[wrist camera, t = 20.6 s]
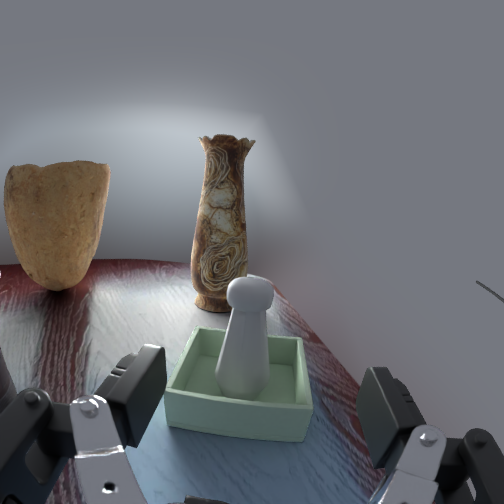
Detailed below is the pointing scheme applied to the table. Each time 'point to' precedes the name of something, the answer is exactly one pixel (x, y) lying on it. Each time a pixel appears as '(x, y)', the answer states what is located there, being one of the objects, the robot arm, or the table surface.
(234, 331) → the salt shaker
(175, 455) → the table surface
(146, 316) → the table surface
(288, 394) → the open box
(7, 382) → the camera lens
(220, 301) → the vase
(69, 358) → the table surface
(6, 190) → the tan rough tapered pot
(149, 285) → the table surface
